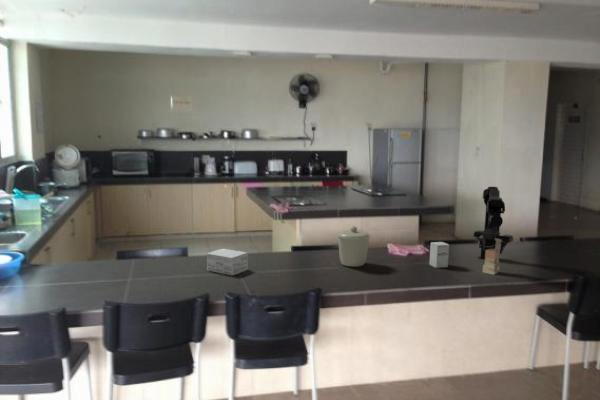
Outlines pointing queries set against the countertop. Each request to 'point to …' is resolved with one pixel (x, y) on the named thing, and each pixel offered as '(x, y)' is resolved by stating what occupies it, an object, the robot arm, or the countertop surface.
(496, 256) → the terracotta block
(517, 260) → the countertop surface
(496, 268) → the tower base
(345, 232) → the canister
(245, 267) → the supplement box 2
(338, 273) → the countertop surface
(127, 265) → the countertop surface
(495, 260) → the tower mid
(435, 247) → the supplement box
